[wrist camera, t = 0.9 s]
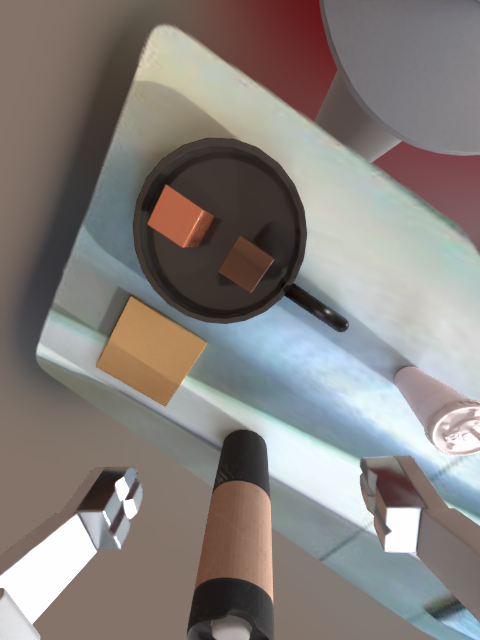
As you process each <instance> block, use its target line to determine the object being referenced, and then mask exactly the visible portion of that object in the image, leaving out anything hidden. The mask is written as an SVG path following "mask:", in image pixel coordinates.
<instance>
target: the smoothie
mask: <svg viewBox="0 0 480 640" xmlns="http://www.w3.org/2000/svg"><path fill="white" fill-rule="evenodd" d="M394 383H395V385H396V386H397V388H398V389H399V391H400V392H401V394H402V395H403V397H404V398H405V400H406V401H407V403H408V404H409V406H410V407H411V409H412V411H413V412H414V414H415V415H416V417H417V418H418V420H419V421H420V423H421V424H422V426H423V427H424V431H425V435H426V437H427V439H428V440H429V441H430V442H431V443H432V444H433V445H434V446H435V447H436V448H437V449H438V450H439V451H441V452H443V453H445V454H449V455H454V456H465V455H471V454H475V453H477V452H480V401H477V400H472V399H470V398H468V397H466V396H465V395H463V394H461V393H459V392H458V391H456V390H454V389H453V388H451V387H449V386H448V385H446V384H444V383H442V382H441V381H439V380H437V379H436V378H434V377H432V376H431V375H429V374H427V373H425V372H424V371H422V370H420V369H419V368H417V367H413V366H408V367H404V368H402V369H400V370H399V371H398V372H397V373H396V375H395V377H394Z"/></svg>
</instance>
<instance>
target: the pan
mask: <svg viewBox="0 0 480 640" xmlns="http://www.w3.org/2000/svg"><path fill="white" fill-rule="evenodd" d="M165 185H168V186H170V187H171V188H173V189H175V190H176V191H178V192H180V193H182V194H183V195H185V196H186V197H188V198H189V199H191V200H192V201H194V202H195V203H197V204H198V205H199V206H201V207H202V208H204V209H205V210H207V211H208V212H210V213H211V214H212V215H214V216H215V217H214V219H213V221H212V222H211V224H210V226H209V228H208V230H207V231H206V233H205V235H204V237H203V238H202V240H201V242H200V244H199V246H195V247H185V248H182V247H181V246H179V245H178V244H176V243H175V242H173V241H172V240H170V239H169V238H167V237H166V236H164V235H163V234H161V233H160V232H158V231H157V230H155V229H154V228H152V227H151V226H149V225H148V224H147V223H148V221H149V219H150V217H151V215H152V213H153V210H154V208H155V206H156V204H157V202H158V200H159V198H160V195H161V193H162V191H163V189H164V187H165ZM133 231H134V243H135V250H136V253H137V256H138V259H139V262H140V265H141V268H142V271H143V272H144V274H145V276H146V277H147V279H148V281H149V282H150V284H151V286H152V287H153V289H154V290H155V291H156V292H157V293H158V294H159V295H160V296H161V297H162V298H163V299H164V300H165V301H166V302H167V303H168V304H169V305H170V306H172V307H173V308H175V309H177V310H178V311H180V312H181V313H183V314H185V315H187V316H189V317H192V318H195V319H198V320H201V321H204V322H208V323H221V324H228V323H234V322H240V321H246V320H248V319H250V318H253V317H255V316H257V315H259V314H262V313H264V312H266V311H267V310H268V309H269V308H271V307H272V306H273V305H274V304H276V303H277V302H278V301H279V300H280V299H282V297H283V296H284V295H285V293H284V290H283V289H284V287H285V286H286V285H292V284H293V283H294V281H295V279H296V277H297V274H298V272H299V270H300V267H301V265H302V262H303V260H304V259H303V258H304V254H305V247H306V240H307V228H306V219H305V211H304V207H303V204H302V202H301V199H300V197H299V194H298V192H297V189H296V187H295V185H294V183H293V181H292V180H291V179H290V177H289V176H288V175H287V173H286V172H285V171H284V169H283V168H282V167H281V165H280V164H278V162H276V161H275V160H274V159H272V158H271V157H270V156H268V155H267V154H266V153H264V152H263V151H262V150H260V149H259V148H257V147H255V146H252V145H250V144H247V143H244V142H241V141H238V140H236V139H228V138H205V139H202V140H198V141H195V142H191V143H188V144H185V145H182V146H181V147H179V148H178V149H176V150H175V151H173V152H172V153H171V154H169V155H168V156H166V157H165V158H163V159H162V160H161V161H160V162H159V163H158V165H157V166H156V167H155V168H154V170H153V171H152V172H151V173H150V174H149V176H148V177H147V179H146V181H145V183H144V185H143V187H142V190H141V192H140V194H139V197H138V199H137V202H136V209H135V215H134V221H133ZM239 236H244V237H245V238H247V239H248V240H250V241H251V242H253V243H254V244H256V245H257V246H258V247H260V248H261V249H263V250H264V251H266V252H267V253H269V254H270V255H271V256H272V257H273V259H274V260H273V262H272V263H271V265H270V266H269V268H268V269H267V271H266V272H265V274H264V275H263V276H262V278H261V279H260V281H259V282H258V284H257V285H256V287H255V288H254V290H253V291H252V292H251V293H250V292H248V291H247V290H245V289H244V288H242V287H241V286H239V285H238V284H236V283H235V282H233V281H232V280H230V279H229V278H227V277H226V276H224V275H223V274H221V273H220V272H218V270H219V268H220V266H221V265H222V263H223V261H224V260H225V258H226V257H227V255H228V253H229V252H230V250H231V248H232V247H233V245H234V243H235V242H236V240H237V239H238V237H239ZM285 281H286V283H285V284H284V286H283V287H282V288H281V289H280V286H281V284H282V283H283V282H285Z"/></svg>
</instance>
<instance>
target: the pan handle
mask: <svg viewBox="0 0 480 640" xmlns="http://www.w3.org/2000/svg"><path fill="white" fill-rule="evenodd" d="M285 283H286V281H285V282H283V283H282V284H281V286H280V289H281V288H282V287H283V286H284V284H285ZM283 290H284V293H285V295H284V296H286V297H287V298H289V299H290V300H292V301H293V302H295V303H296V304H298V305H299V306H300V307H302V308H303V309H305V310H306V311H308V312H309V313H311V314H312V315H314V316H315V317H317V318H318V319H320V320H321V321H323V322H324V323H326V324H327V325H329V326H330V327H332V328H333V329H334V330H336V331H338V332H344V331H346V330H347V329H348V327H349V323H348V321H347V320H346V319H345V318H344V317H342V316H341V315H339V314H338V313H336V312H335V311H333V310H332V309H331V308H329V307H328V306H326V305H325V304H323V303H322V302H320V301H319V300H317V299H316V298H315V297H313V296H312V295H310V294H309V293H307V292H306V291H304V290H303V289H301V288H300V287H299V286H297V285H296V284H294V283H293V284H292V285H286V286H285V287H284V289H283Z"/></svg>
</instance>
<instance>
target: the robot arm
mask: <svg viewBox="0 0 480 640" xmlns="http://www.w3.org/2000/svg"><path fill="white" fill-rule="evenodd" d="M478 1H480V0H478ZM360 467H361V470H362V472H363V473H362V474H361V475H360V486H361V491H362V495H363V499H364V502H365V504H366V507H367V509H368V511H370V512H371V513H372V514H373V515H374V527H375V530H376V532H377V535H378V537H379V540H380V542H381V545H382V547H383V550H384V552H400V553H417V556H418V557H419V558H420V559H421V560H422V562H423V563H424V564H425V565H426V566H427V567H428V568H429V569H430V570H431V571H432V572H433V573H434V574H435V575H436V576H437V578H438V579H439V580H440V581H441V582H442V583H443V584H444V585H445V586H446V587H447V588H448V589H449V590H450V591H451V592H452V594H453V595H454V596H455V597H456V598H457V599H458V600H459V601H460V602H461V603H462V604H463V605H464V606H465V607H466V608H467V610H468V611H469V612H470V613H471V614H472V615H473V616H474V617H475V618H476V619H477V620H478V621H479V622H480V526H479V525H478V524H476V523H475V522H473V521H472V520H471V519H469V518H468V517H466V516H465V515H463V514H462V513H461V512H459V511H458V510H456V509H454V508H449V507H448V506H447V505H446V503H445V502H444V500H443V499H442V498H441V496H440V495H439V493H438V492H437V491H436V489H435V488H434V486H433V485H432V483H431V482H430V481H429V479H428V478H427V476H426V475H425V474H424V472H423V471H422V469H421V468H420V467H419V465H418V464H417V462H416V461H415V460H414V458H413V457H411V456H410V455H409V456H380V457H361V459H360ZM137 474H138V473H137V471H136V469H135V467H96V468H94V469H93V470H91V471H90V473H89V474H88V475H87V477H86V478H85V479H84V481H83V482H82V483H81V485H80V486H79V487H78V489H77V490H76V492H75V493H74V494H73V496H72V497H71V498H70V499H69V501H68V502H67V503H66V505H65V506H64V508H63V509H62V510H61V512H60V513H55V514H54V515H52V516H51V517H50V518H49V519H47V520H46V521H45V522H43V523H42V524H41V525H39V526H38V527H37V528H35V529H34V530H33V531H31V532H30V533H29V534H27V535H26V536H25V537H23V538H22V539H21V540H19V541H18V542H17V543H15V544H14V545H13V546H11V547H10V548H9V549H8V550H6V551H5V552H4V553H3V554H1V555H0V640H40V634H39V633H38V632H37V630H36V629H35V628H34V626H33V625H32V624H33V623H34V621H35V620H36V619H37V618H38V617H39V616H40V615H41V614H42V613H43V611H44V610H45V609H46V608H47V607H48V606H49V605H50V604H51V602H52V601H53V600H54V599H55V598H56V597H57V596H58V595H59V594H60V593H61V591H62V590H63V589H64V588H65V587H66V586H67V585H68V583H69V582H70V581H71V580H72V579H73V578H74V577H75V576H76V575H77V574H78V572H79V571H80V570H81V569H82V568H83V567H84V566H85V565H86V564H87V562H88V561H89V560H90V559H91V558H92V556H94V555H95V553H96V552H97V551H96V550H119V549H121V547H122V545H123V543H124V541H125V538H126V536H127V534H128V532H129V529H130V527H131V523H130V519H131V518H132V517H133V516H134V515H135V514H136V513H137V512H138V509H139V507H140V505H141V502H142V497H143V487H142V484H141V482H140V481H138V480H137V479H136V476H137Z"/></svg>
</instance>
